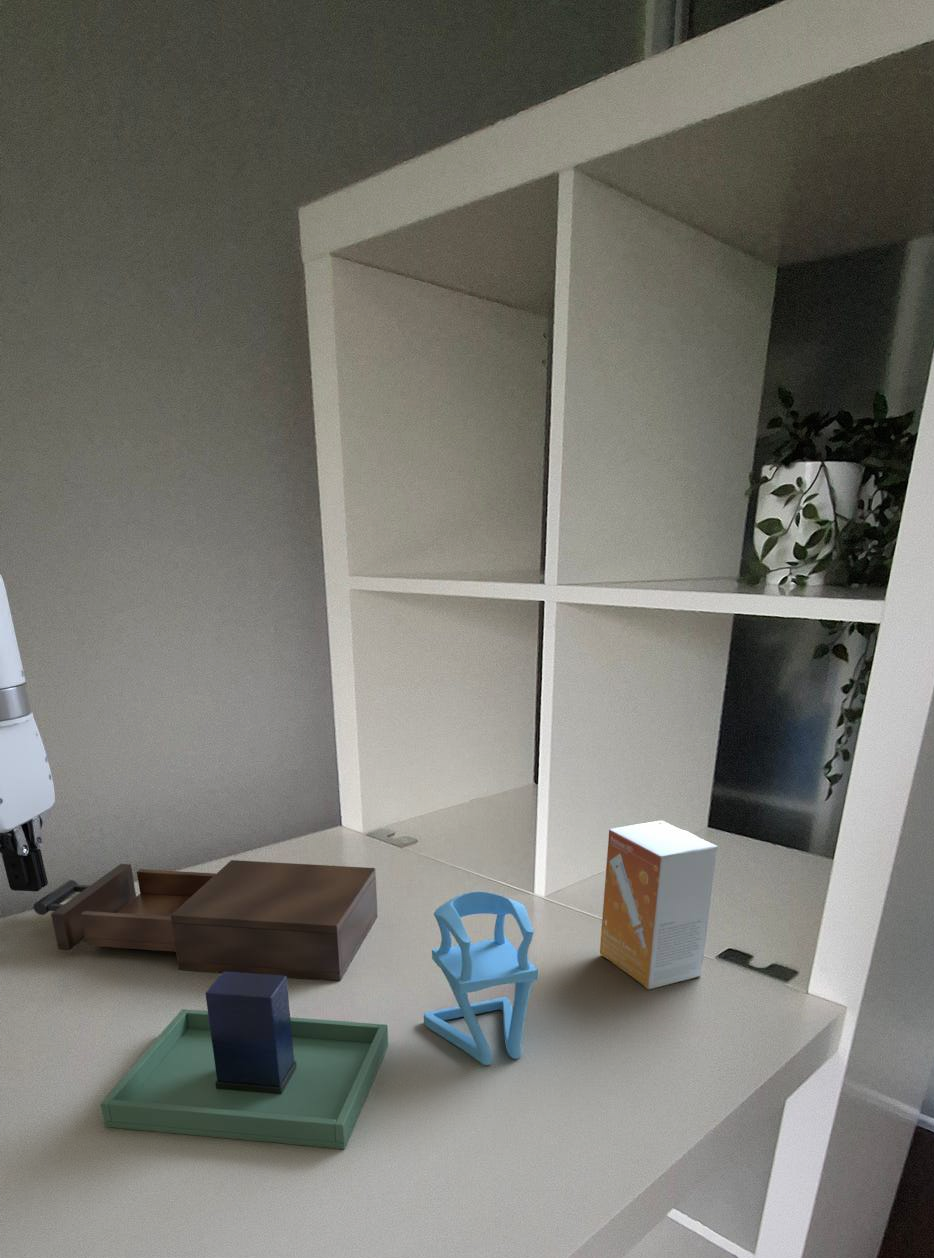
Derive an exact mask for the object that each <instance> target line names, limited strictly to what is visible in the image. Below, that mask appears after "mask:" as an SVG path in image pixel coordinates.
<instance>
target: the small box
mask: <svg viewBox="0 0 934 1258" xmlns="http://www.w3.org/2000/svg"><path fill="white" fill-rule="evenodd" d="M607 841H608V842H607V853H606V854H607V855H606V856H607V857H606V866H605V880H604V890H603V891H604V892H603V893H604V894H603V906H602V917H601V918H602V919H601V930H600V931H601V932H600V942H599V943H600V944H599V955H600V956H602V957H603V958H605V959H607V960H608V961H610V962H611V964H614V965H615V966H617V968H619V969H620V970H622V971H623V972H625V973H626V974H628V975H629V977H631V978H633V979H634V980H636V981H637V982H638V983H639V984H641V985H642V986H643V987H644V988H646V989H647V990H652V989H656V988H660V987H663V986H668V985H672V984H675V983H679V982H683V981H687V980H691V979H694V978H698V977H700V976H702V974H703V966H704V965H703V964H704V957H705V956H704V955H705V950H706V949H705V948H706V940H707V933H708V926H709V925H708V924H709V917H710V909H711V901H712V899H711V898H712V894H713V884H714V877H715V876H714V875H715V867H716V859H717V853H718V845H716V844H714V843H712V842H709V841H708V840H706V839H703V838H701V837H699V836H697V835H696V834H693V832H691V831H688V830H684V829H681V828H679V827H677V826H675V825H673V824H671V823H668V822H667V821H665V820H656V821H649V822H643V823H636V824H631V825H630V824H629V825H625V826H624V825H623V826H620V827H619V826H618V827H614V828H610V829H608V840H607Z"/></svg>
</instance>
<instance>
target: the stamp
mask: <svg viewBox="0 0 934 1258" xmlns="http://www.w3.org/2000/svg"><path fill="white" fill-rule="evenodd" d="M287 978H288V977H286V976H283V975H269V974H255V973H241V972H226V971H224V972H223V973H220V975H219V977H218V978H217V979H216V980H215V981H214V982H213V983H212V984H211V986H210V987H209V988H208V989H207V990H206V992H205V993H204V994H205V1001H206V1010H207V1011H208V1017H209V1024H210V1031H211V1039H212V1046H213V1053H214V1061H215V1068H216V1076H217V1080H216V1082H215V1084H216V1089H224V1090H236V1091H247V1092H259V1093H270V1094H282V1092H283V1091H284V1089H285V1087H286V1085H287V1084H288V1082H289V1080H290V1078H291V1077H292V1075H293V1073H294V1071H295V1070H296V1068H297V1064H296V1061H294V1053H293V1042H292V1031H291V1020H290V1017H291V1011H290V1000H289V989H288V979H287Z"/></svg>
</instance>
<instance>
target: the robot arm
mask: <svg viewBox="0 0 934 1258" xmlns="http://www.w3.org/2000/svg"><path fill="white" fill-rule="evenodd" d="M9 603H10V602H9V599H8V594H7V589H6V585H5V582H4V579H3V576H2V575H1V574H0V856H1V858H2V861H3V866H4V870H5V874H6V879H7V883H8V886H9V888H10V890H11V891H15V892H16V891H17V892H18V891H19V892H39V891H40V890H42V889H43V888H45V887H46V886H48V884H49V880H48V877H47V872H46V868H45V864H44V863H45V862H44V859H43V855H42V850H41V847H42V846H43V834H42V827H43V824H44V823H45V822H46V821H47V820H48V819H49V817H50V816H51V814H52V809H51V808H52V807H53V805H54V804H55V802H56V792H55V786H54V785H55V784H54V779H53V775H52V771H51V767H50V763H49V759H48V756H47V752H46V749H45V746H44V742H43V738H42V737H41V734H40V731H39V727H38V725H37V722H36V720H35V718H34V713H33V709H32V704H31V700H30V695H29V694H30V693H29V690H28V686H27V681H26V675H25V672H24V667H23V663H22V658H21V654H20V649H19V645H18V640H17V636H16V630H15V627H14V621H13V617H12V613H11V607H10V604H9Z"/></svg>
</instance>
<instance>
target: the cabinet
mask: <svg viewBox="0 0 934 1258" xmlns="http://www.w3.org/2000/svg"><path fill="white" fill-rule="evenodd" d="M377 893H378V892H377V873H376V868H375V867H363V866H362V867H361V866H360V867H359V866H347V865H326V864H310V863H309V864H308V863H291V862H289V863H288V862H273V861H253V860H238V859H237V860H236V859H231V860H230V861H228V862H227V863H226V864H225V865H224V866H223V867H222V868H221V869H220V870H218V871H217V872H216V875H214V876H213V877H212V878H211V879H210V880H209V881H208V882H207V883H206V884H205V885H203V886H202V887H201V888H200V889H199V890H198V891H197V892H196V893H195V894H194V895H193V896H191V897H190V898H189V899H188V900H187V901H186V902H185V903H184V904H183V905H182V906H180V907H179V908H178V909H177V910H176V911H175V912H174V913H173V914H172V915H171V921H172V929H173V935H174V942H175V949H176V952H175V954H176V961H177V968H178V970H179V971H193V972H194V971H195V972H206V973H208V972H209V973H220V974H222V973H223V972H224V971H226V972H241V973H255V974H269V975H283V976H286V977H287V978H292V979H306V980H321V981H333V982H334V981H335V982H341V981H342V979H343V977H344V975H345V974H346V972H347V970H348V969H349V967H350V965H351V963H352V962H353V960H354V958H355V957H356V955H357V953H358V951H359V950H360V948H361V946H362V944H363V943H364V940H365V939H366V938H367V936H368V934H369V932H370V931H371V929H372V927H373V926H374V924H375V922H376V920H377V919H378V897H377Z"/></svg>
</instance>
